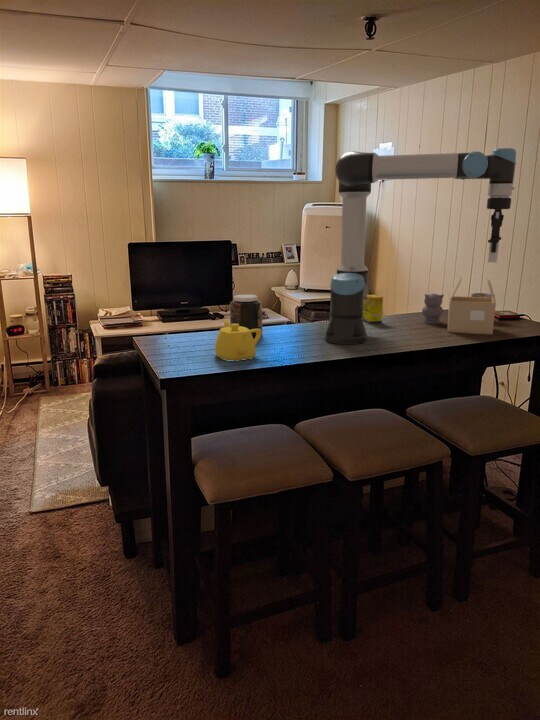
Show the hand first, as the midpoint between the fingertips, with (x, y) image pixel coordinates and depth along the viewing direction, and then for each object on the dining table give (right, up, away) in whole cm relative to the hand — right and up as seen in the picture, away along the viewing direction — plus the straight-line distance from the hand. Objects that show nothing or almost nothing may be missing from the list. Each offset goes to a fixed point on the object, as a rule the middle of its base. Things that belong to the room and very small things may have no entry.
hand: (492, 260), depth 193 cm
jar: (-87, -26, +15) cm, 92 cm away
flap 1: (-6, -7, +19) cm, 21 cm away
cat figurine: (-11, -19, +36) cm, 42 cm away
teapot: (-88, -34, -13) cm, 95 cm away
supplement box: (-35, -19, +38) cm, 55 cm away
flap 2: (+5, -8, +16) cm, 18 cm away
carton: (0, -23, +22) cm, 32 cm away
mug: (+11, -18, +42) cm, 47 cm away
